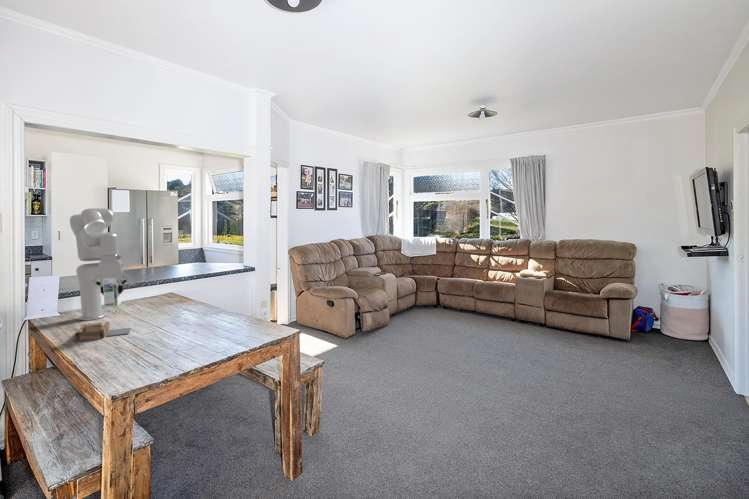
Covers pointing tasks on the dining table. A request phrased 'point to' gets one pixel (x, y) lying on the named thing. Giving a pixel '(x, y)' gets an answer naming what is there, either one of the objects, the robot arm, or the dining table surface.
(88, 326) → the offcut upper
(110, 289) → the syrup box
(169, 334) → the dining table surface
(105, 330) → the rack
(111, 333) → the mat
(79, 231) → the robot arm
